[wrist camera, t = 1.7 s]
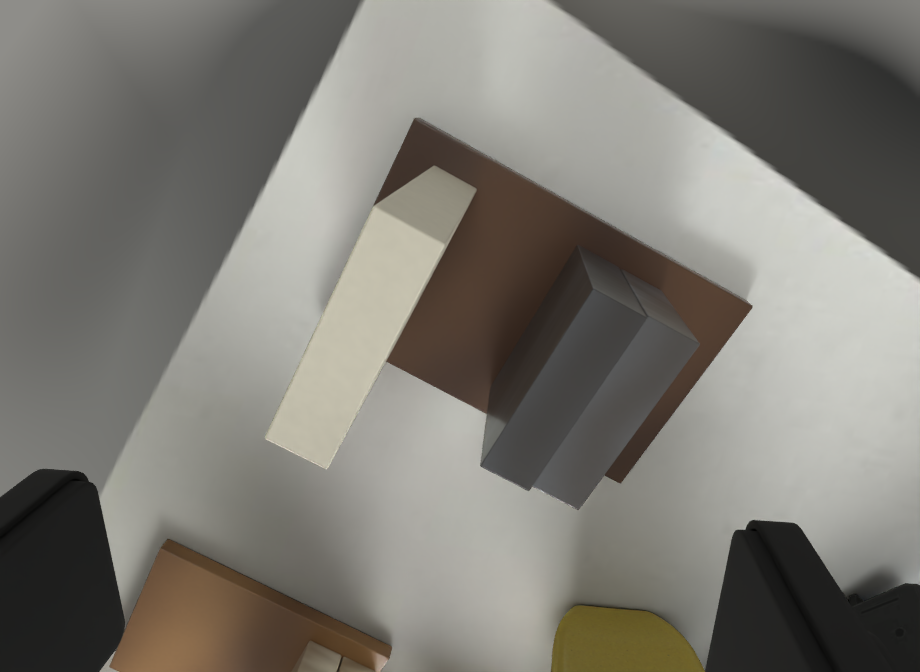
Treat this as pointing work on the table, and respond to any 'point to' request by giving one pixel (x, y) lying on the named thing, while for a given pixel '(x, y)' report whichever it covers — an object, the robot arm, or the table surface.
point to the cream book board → (232, 625)
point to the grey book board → (522, 275)
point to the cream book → (368, 313)
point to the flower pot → (620, 643)
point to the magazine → (894, 622)
